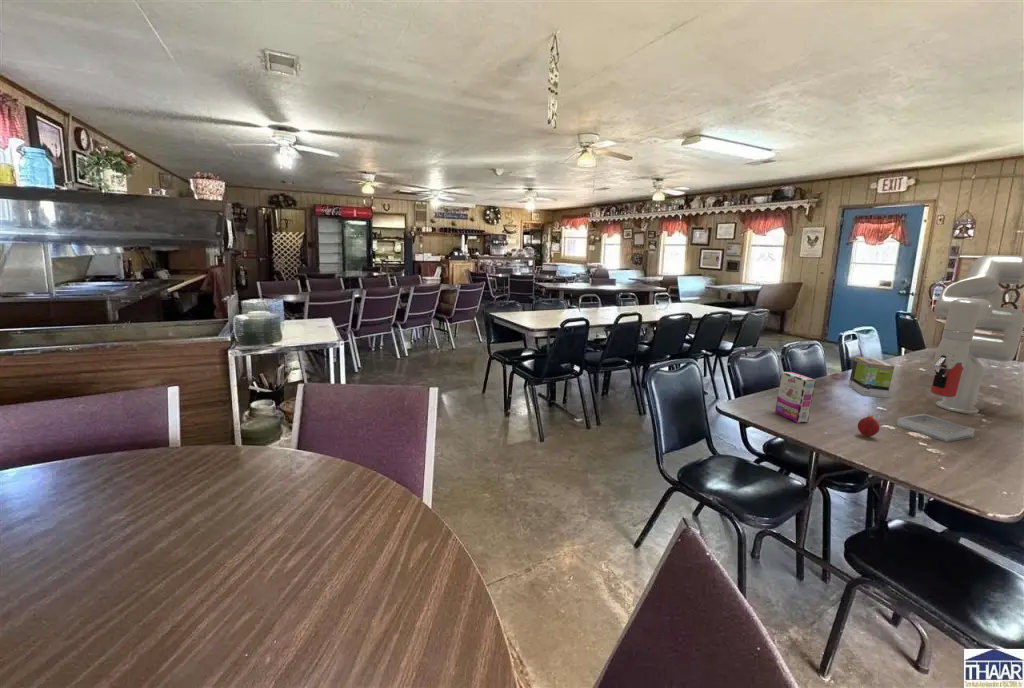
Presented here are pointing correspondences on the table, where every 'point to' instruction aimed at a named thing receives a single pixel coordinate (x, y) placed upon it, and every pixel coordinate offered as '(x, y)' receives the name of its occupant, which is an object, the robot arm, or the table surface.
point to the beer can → (949, 382)
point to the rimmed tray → (935, 427)
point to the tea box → (871, 376)
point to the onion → (868, 426)
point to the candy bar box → (795, 396)
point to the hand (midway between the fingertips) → (945, 385)
